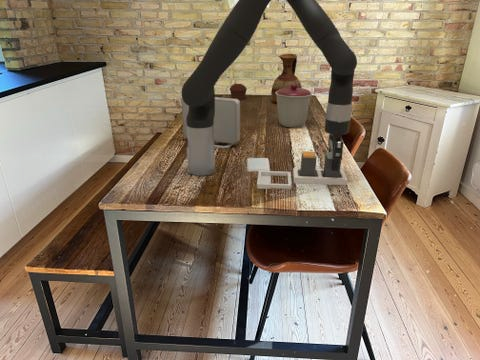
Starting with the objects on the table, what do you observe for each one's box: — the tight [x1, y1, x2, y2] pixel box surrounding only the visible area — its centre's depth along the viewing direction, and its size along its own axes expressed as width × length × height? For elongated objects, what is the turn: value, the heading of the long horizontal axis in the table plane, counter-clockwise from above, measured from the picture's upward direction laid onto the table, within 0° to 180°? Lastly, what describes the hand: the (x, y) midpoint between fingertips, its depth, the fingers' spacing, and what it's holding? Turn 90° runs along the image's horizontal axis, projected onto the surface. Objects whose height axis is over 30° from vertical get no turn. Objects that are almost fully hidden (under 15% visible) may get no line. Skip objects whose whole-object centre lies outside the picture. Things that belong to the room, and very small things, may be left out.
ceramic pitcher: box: [270, 53, 303, 103], centre depth 223 cm, size 20×20×30 cm
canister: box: [275, 83, 313, 129], centre depth 178 cm, size 18×18×21 cm
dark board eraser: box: [323, 151, 342, 178], centre depth 118 cm, size 4×4×9 cm
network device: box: [180, 96, 241, 149], centre depth 152 cm, size 26×9×20 cm, turn 68°
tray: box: [256, 170, 292, 190], centre depth 118 cm, size 11×11×2 cm
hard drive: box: [246, 157, 271, 173], centre depth 132 cm, size 2×8×12 cm
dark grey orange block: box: [300, 150, 317, 177], centre depth 118 cm, size 4×4×9 cm
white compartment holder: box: [292, 167, 348, 186], centre depth 120 cm, size 17×8×3 cm, turn 84°
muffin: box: [229, 83, 248, 102], centre depth 236 cm, size 12×11×10 cm
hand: (332, 165), depth 117 cm, fingers open, 8 cm apart
